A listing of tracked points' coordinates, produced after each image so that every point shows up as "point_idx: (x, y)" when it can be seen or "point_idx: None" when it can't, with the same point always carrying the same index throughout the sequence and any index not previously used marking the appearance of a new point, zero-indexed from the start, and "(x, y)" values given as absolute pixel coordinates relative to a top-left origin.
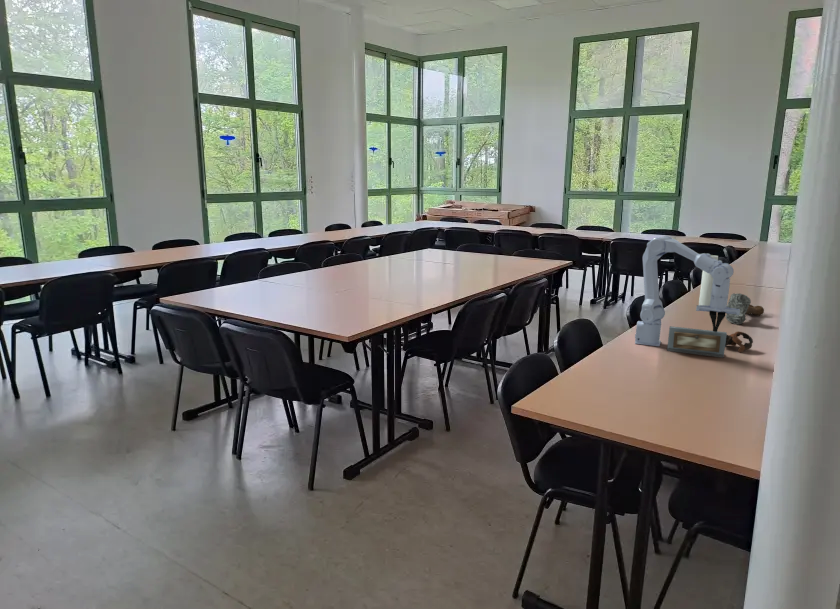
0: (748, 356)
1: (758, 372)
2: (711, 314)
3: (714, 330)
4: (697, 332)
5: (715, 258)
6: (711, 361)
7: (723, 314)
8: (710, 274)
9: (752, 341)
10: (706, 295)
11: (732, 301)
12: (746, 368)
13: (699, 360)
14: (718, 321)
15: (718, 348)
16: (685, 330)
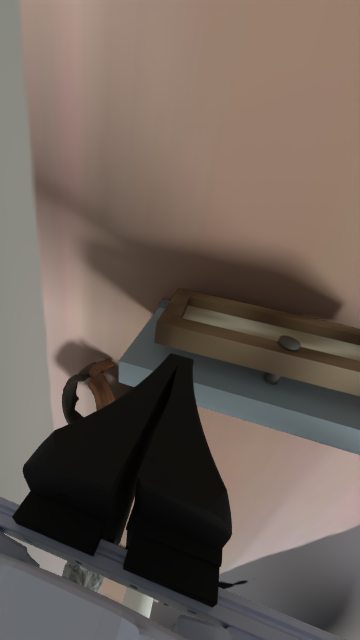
0: (90, 328)
1: (51, 113)
2: (209, 514)
3: (184, 360)
4: (271, 394)
5: None
6: (220, 234)
7: (44, 484)
8: None
9: (63, 392)
10: (141, 599)
11: (96, 577)
12: (95, 167)
13: (273, 235)
14: (139, 405)
15: (178, 295)
16: (344, 418)
